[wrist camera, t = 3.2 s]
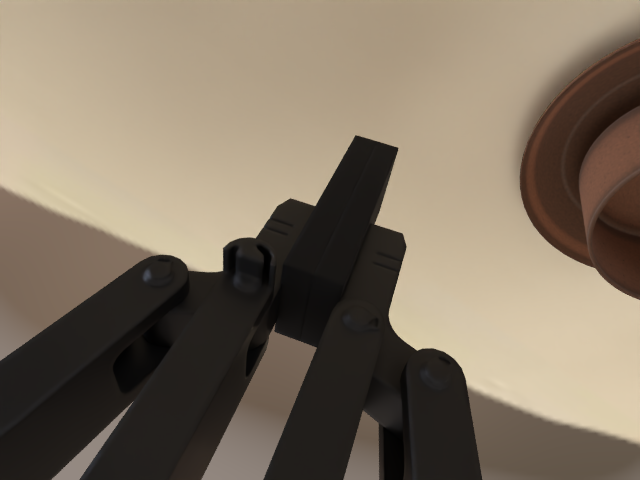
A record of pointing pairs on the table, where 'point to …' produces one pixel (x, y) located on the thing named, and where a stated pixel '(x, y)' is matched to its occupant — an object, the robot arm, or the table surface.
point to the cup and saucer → (591, 170)
